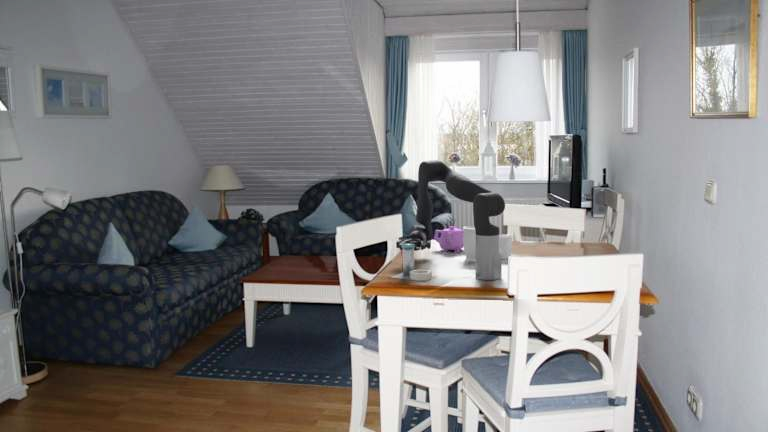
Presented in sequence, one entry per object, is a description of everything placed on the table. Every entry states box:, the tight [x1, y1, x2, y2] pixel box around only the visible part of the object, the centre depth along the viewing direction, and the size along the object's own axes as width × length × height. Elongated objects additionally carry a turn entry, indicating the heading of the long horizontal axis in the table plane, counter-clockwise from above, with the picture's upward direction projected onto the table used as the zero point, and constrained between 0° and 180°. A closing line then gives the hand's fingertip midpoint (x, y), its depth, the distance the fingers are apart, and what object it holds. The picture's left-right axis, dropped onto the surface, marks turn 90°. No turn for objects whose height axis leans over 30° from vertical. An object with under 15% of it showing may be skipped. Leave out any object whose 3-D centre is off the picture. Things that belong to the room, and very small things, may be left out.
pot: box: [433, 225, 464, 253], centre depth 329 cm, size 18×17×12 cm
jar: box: [462, 225, 476, 263], centre depth 303 cm, size 11×10×15 cm
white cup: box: [499, 233, 513, 260], centre depth 309 cm, size 8×8×10 cm
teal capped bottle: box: [402, 244, 415, 276], centre depth 273 cm, size 5×5×12 cm
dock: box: [390, 269, 438, 283], centre depth 269 cm, size 16×10×4 cm, turn 55°
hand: (411, 247), depth 283 cm, fingers open, 8 cm apart
